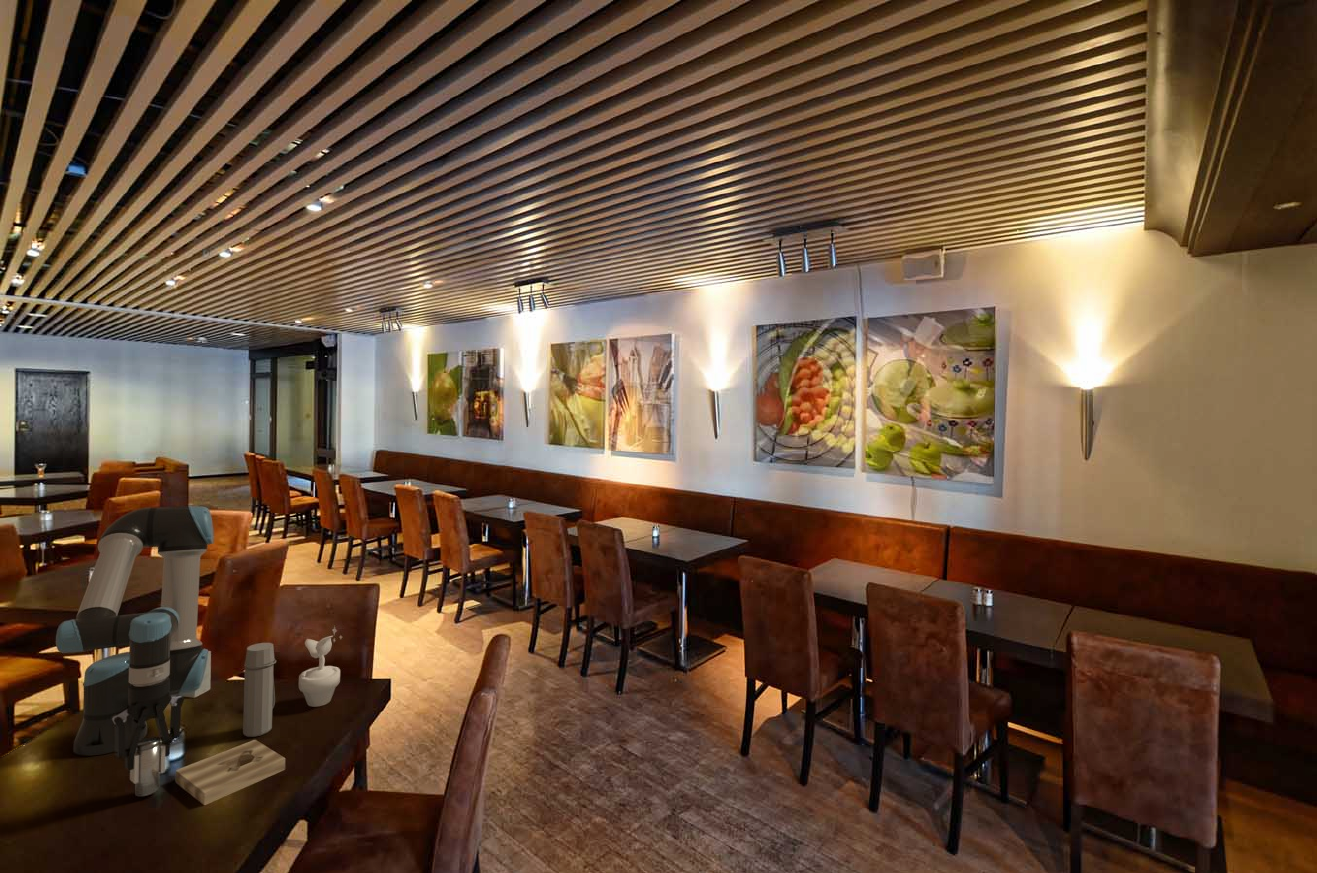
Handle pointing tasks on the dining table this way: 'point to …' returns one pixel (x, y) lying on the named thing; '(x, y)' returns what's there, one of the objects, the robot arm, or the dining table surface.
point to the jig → (229, 771)
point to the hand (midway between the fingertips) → (147, 775)
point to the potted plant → (319, 674)
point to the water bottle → (258, 689)
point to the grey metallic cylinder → (148, 766)
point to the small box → (205, 683)
